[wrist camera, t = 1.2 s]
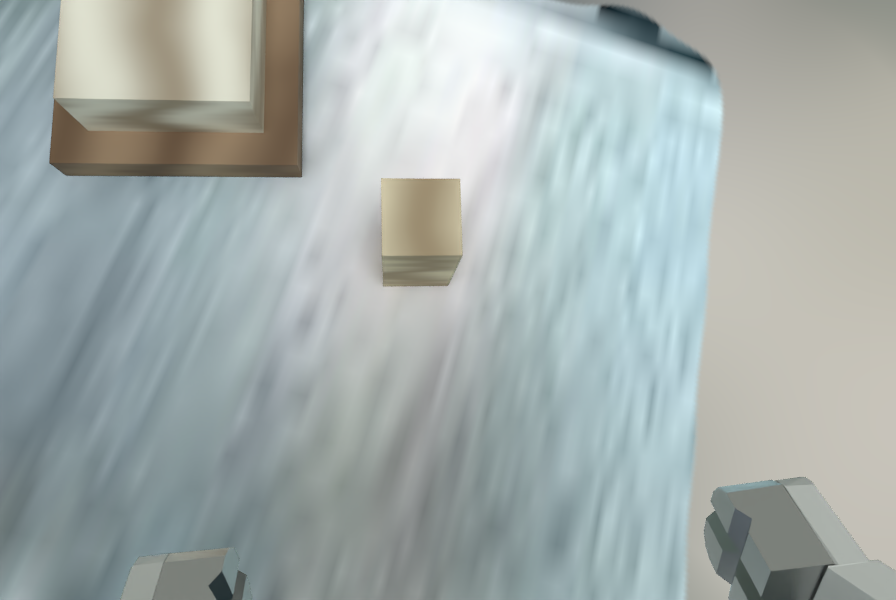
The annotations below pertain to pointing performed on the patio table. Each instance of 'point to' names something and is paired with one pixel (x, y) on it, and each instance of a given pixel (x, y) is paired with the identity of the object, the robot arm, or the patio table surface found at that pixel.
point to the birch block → (420, 231)
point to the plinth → (204, 146)
